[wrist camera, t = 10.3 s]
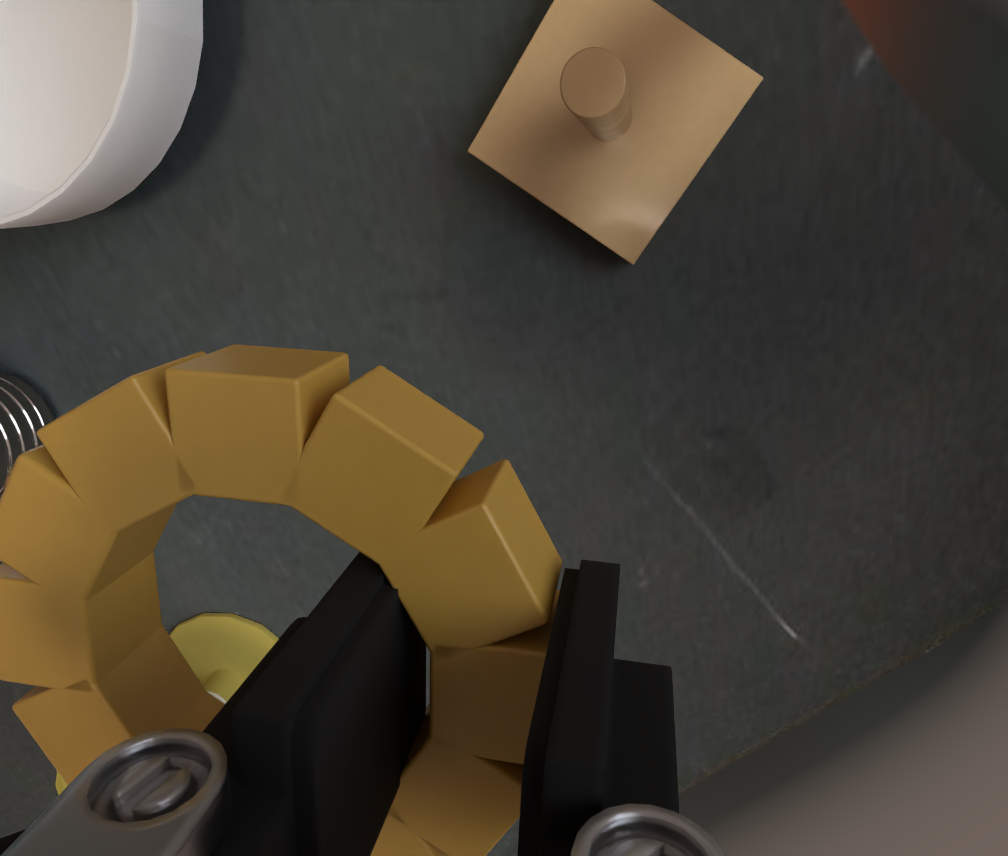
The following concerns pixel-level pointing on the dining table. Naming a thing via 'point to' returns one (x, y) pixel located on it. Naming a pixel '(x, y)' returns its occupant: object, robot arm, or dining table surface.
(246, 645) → the candle
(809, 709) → the dining table surface
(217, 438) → the ring
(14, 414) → the water bottle
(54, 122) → the bowl
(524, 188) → the peg stand
